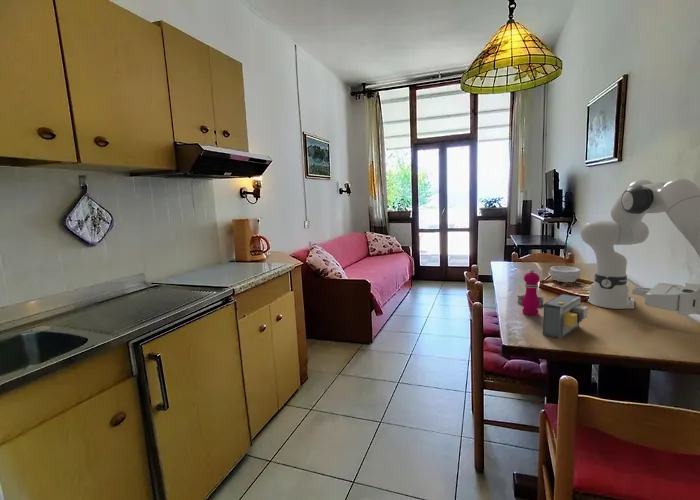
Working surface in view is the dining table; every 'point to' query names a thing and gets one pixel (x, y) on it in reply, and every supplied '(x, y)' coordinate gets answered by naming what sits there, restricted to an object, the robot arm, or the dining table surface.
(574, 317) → the amber button
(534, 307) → the pepper mill
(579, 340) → the dining table surface
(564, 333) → the console
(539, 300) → the egg carton
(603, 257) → the robot arm
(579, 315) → the black button
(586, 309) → the white button
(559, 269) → the paper bowls
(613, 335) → the dining table surface
